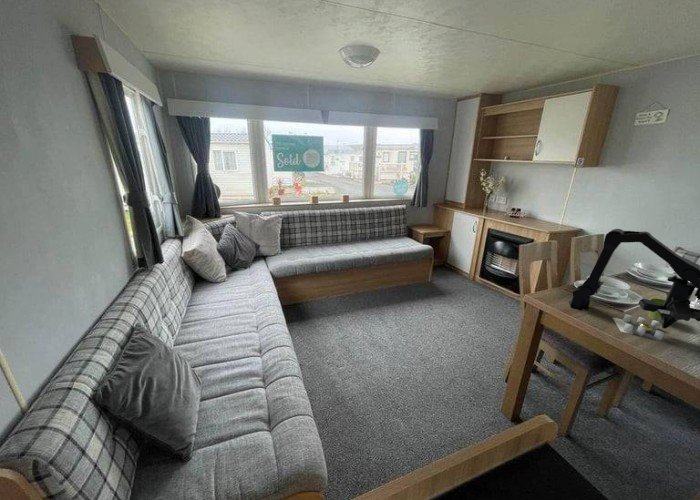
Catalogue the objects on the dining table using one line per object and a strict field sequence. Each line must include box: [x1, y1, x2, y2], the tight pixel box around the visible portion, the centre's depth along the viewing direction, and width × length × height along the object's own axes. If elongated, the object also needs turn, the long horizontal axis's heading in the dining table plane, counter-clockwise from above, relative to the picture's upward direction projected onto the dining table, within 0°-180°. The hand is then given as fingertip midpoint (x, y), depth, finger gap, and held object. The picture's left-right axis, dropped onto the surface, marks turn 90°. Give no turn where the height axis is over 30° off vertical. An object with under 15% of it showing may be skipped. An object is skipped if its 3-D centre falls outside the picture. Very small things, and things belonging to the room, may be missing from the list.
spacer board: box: [612, 313, 666, 343], centre depth 122 cm, size 15×12×4 cm
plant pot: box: [648, 297, 666, 323], centre depth 129 cm, size 9×9×9 cm
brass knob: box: [637, 322, 653, 333], centre depth 121 cm, size 4×4×3 cm
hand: (663, 328), depth 119 cm, fingers closed
